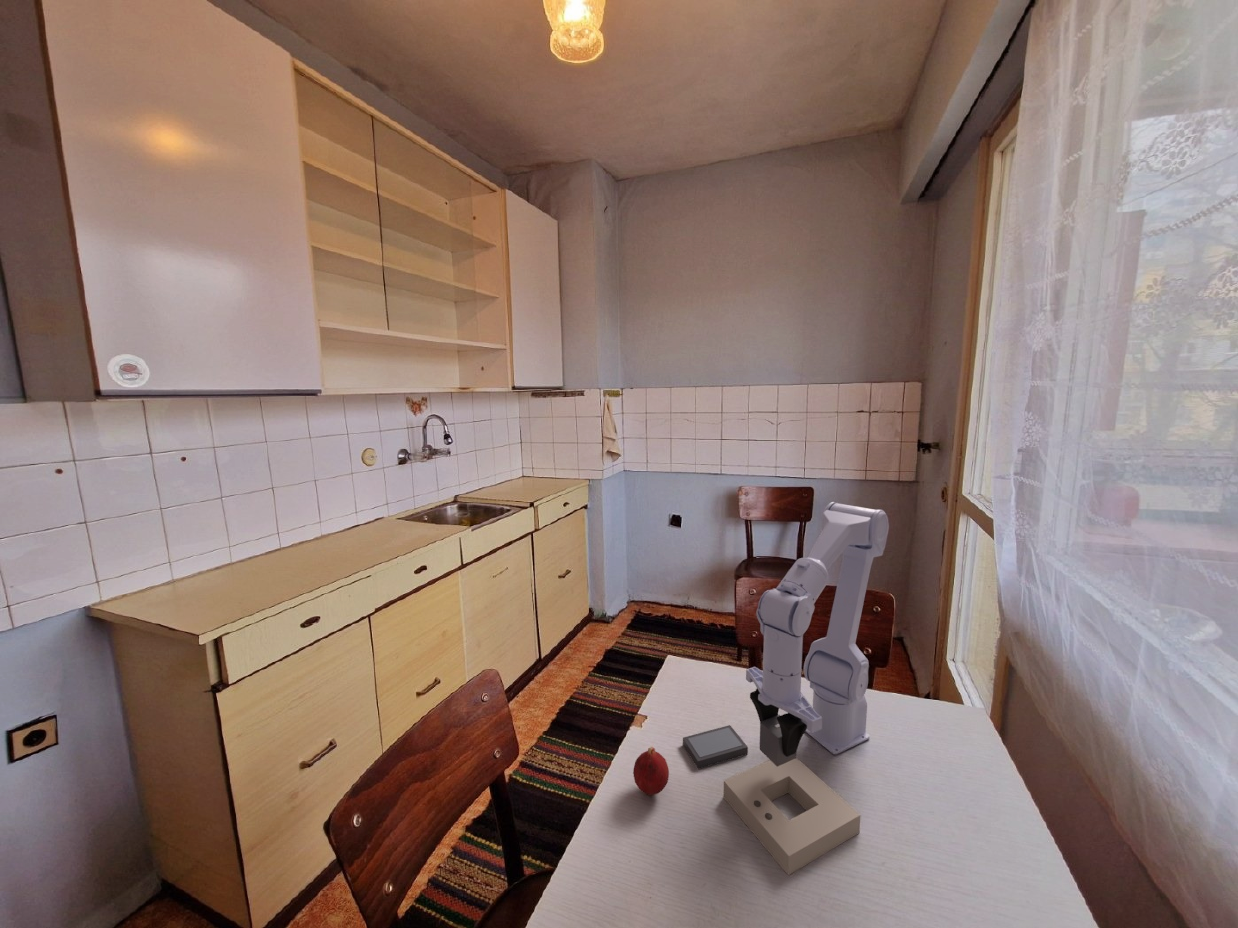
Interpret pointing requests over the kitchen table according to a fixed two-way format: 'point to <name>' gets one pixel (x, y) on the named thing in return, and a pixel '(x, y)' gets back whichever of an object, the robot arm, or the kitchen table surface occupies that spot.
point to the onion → (651, 772)
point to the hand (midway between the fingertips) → (779, 743)
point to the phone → (714, 746)
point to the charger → (773, 741)
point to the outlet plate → (804, 833)
